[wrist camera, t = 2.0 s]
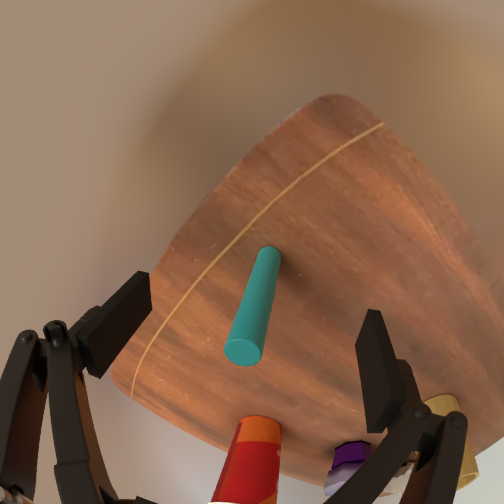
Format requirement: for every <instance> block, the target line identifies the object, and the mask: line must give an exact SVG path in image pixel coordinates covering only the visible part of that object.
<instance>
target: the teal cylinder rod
mask: <svg viewBox="0 0 504 504" xmlns="http://www.w3.org/2000/svg"><path fill="white" fill-rule="evenodd" d="M280 262H281V254H280V252H279V251H278V250H277V249H276V248H274V247H271V246H267V247H264V248H262V249H261V250H260V251H259V254H258V256H257V259H256V262H255V265H254V267H253V270H252V273H251V276H250V278H249V281H248V284H247V287H246V289H245V292H244V295H243V298H242V300H241V303H240V306H239V309H238V311H237V314H236V317H235V319H234V322H233V325H232V328H231V330H230V333H229V336H228V338H227V341H226V344H225V347H224V352H225V355H226V357H227V358H228V359H229V360H230V361H231V362H233V363H234V364H237V365H240V366H252V365H255V364H256V363H258V362H259V361H260V359H261V357H262V353H263V348H264V343H265V338H266V333H267V328H268V324H269V319H270V314H271V309H272V303H273V298H274V293H275V288H276V283H277V278H278V272H279V267H280Z"/></svg>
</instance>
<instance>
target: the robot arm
mask: <svg viewBox="0 0 504 504" xmlns="http://www.w3.org/2000/svg"><path fill="white" fill-rule="evenodd" d="M151 311H152V303H151V292H150V280H149V273H147V272H142V271H137V273H135V274H134V275H133V276H132V277H131V278H130V279H129V280H128V281H127V282H126V283H125V284H124V285H123V286H122V287H121V288H120V289H119V290H118V291H117V292H116V293H115V294H114V295H113V296H111V297H110V298H109V299H108V300H107V301H106V303H104V305H102V306H101V307H100V306H95V307H93V308H91V309H90V310H88V311H87V312H86V313H85V314H84V316H82V317H81V318H80V320H78V321H77V322H76V323H75V324H74V325H73V326H72V327H71V328H70V329H69V330H67V327H66V324H65V323H64V322H63V321H60V320H54V321H50V322H49V323H47V324H46V325H45V326H44V328H43V332H44V335H45V338H46V339H41V338H38V335H37V333H36V332H35V331H34V330H25V331H23V332H21V333H20V334H19V335H18V337H17V339H16V341H15V344H14V346H13V348H12V350H11V353H10V355H9V358H8V361H7V363H6V366H5V369H4V371H3V374H2V376H1V379H0V504H34V503H33V498H34V494H35V486H36V472H37V460H38V459H37V458H38V450H39V441H40V434H41V426H42V421H43V415H44V409H45V403H46V399H47V394H48V392H49V406H50V416H51V425H52V433H53V439H54V446H55V451H56V458H57V464H56V465H55V466H54V474H55V478H56V483H57V487H58V491H59V495H60V499H61V503H62V504H157V503H154V502H152V501H149V500H146V499H143V498H141V497H138V496H137V497H136V499H135V500H132V499H120V500H119V498H118V496H117V494H116V492H115V490H114V489H113V487H112V485H111V482H110V480H109V477H108V474H107V471H106V468H105V464H104V461H103V458H102V455H101V452H100V448H99V444H98V440H97V437H96V433H95V429H94V425H93V420H92V416H91V412H90V408H89V402H88V397H87V391H86V386H85V380H84V375H83V373H82V371H83V369H84V368H85V367H86V368H87V371H88V373H89V374H90V375H92V376H94V377H97V378H99V379H101V377H102V376H103V375H104V373H105V372H106V370H107V369H108V368H109V366H110V365H111V364H112V362H113V361H114V360H115V358H116V357H117V356H118V354H119V353H120V351H121V350H122V349H123V347H124V346H125V345H126V343H127V342H128V341H129V339H130V338H131V337H132V335H133V334H134V333H135V332H136V330H137V329H138V328H139V326H140V325H141V324H142V322H143V321H144V320H145V318H146V317H147V316H148V315H149V313H150V312H151ZM355 349H356V354H357V360H358V366H359V373H360V379H361V386H362V393H363V401H364V408H365V416H366V425H367V433H382V432H383V431H384V430H385V428H386V427H387V429H388V434H387V435H386V437H385V438H384V439H383V440H382V441H381V443H380V444H379V445H378V446H377V448H376V449H375V450H374V451H373V452H372V454H371V455H370V456H369V457H368V458H367V459H366V460H365V462H364V463H363V464H362V465H361V466H360V467H359V468H358V469H357V470H356V472H355V473H354V474H353V475H352V476H351V477H350V478H349V479H348V480H347V481H346V482H345V483H344V484H343V485H342V486H341V487H340V488H339V489H338V490H337V491H336V492H335V493H334V494H333V495H332V496H331V497H330V498H329V499H327V500H326V502H324V503H323V504H372V503H373V502H374V501H375V499H376V498H377V497H378V496H379V495H380V493H381V492H382V491H383V490H384V488H385V487H386V486H387V485H388V483H389V482H390V481H391V479H392V478H393V477H394V475H395V474H396V473H397V471H398V470H399V469H400V467H401V466H402V464H403V463H404V462H405V460H406V459H407V457H408V456H409V454H410V453H411V451H416V452H418V454H417V457H416V460H415V463H414V466H413V469H412V472H411V474H410V477H409V480H408V483H407V485H406V488H405V490H404V493H403V495H402V498H401V500H400V503H399V504H453V500H454V496H455V493H456V489H457V485H458V480H459V476H460V471H461V466H462V461H463V455H464V449H465V443H466V436H467V427H468V421H467V418H466V416H465V415H464V414H463V413H461V412H459V411H451V412H449V413H448V414H447V415H446V416H441V415H437V414H434V413H432V411H431V409H430V407H429V406H428V405H426V404H425V403H423V402H422V401H421V398H420V394H419V391H418V388H417V385H416V382H415V378H414V376H413V372H412V369H411V366H410V365H409V364H408V363H407V362H406V360H400V359H396V357H395V354H394V350H393V347H392V344H391V341H390V338H389V335H388V332H387V329H386V326H385V323H384V320H383V317H382V315H381V312H380V311H379V310H371V309H368V311H367V314H366V317H365V320H364V322H363V325H362V328H361V330H360V333H359V336H358V338H357V341H356V344H355Z"/></svg>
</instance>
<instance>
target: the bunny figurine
mask: <svg viewBox="0 0 504 504" xmlns="http://www.w3.org/2000/svg"><path fill="white" fill-rule="evenodd" d="M414 463H415V462H414ZM414 463H413V462H408V463H407V465H406V466H403V467H400V469H399V470H398V471H397V473H396V474H395V475H394V477H393V478H392V479H391V481H390V482H389V483H388V485H387V486H386V487H385V488H384V493H393V494H398V493H401V494H403V493H404V490H405V488H406V485H407V483H408V480H409V477H410V474H411V472H412V469H413V466H414Z"/></svg>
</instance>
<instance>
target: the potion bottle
mask: <svg viewBox="0 0 504 504" xmlns="http://www.w3.org/2000/svg"><path fill="white" fill-rule="evenodd" d="M371 454H372V449H371V443H368V442H365V441H362V440H360V441H353V442H346V443H344V444H342V445H340V446H338V447H337V448H335V456H334V460H333V464H332V467H331V468H332V470H330V471H329V472H328V476H327V479H326V482H325V485H324V493H325V495H327V496H332V495H333V494H334V493H335V492H336V491H337V490H338V489H339V488H340V487H341V486H342V485H343V484H344V483H345V482H346V481H347V480H348V479H349V478H350V477H351V476H352V475H353V474H354V473H355V472H356V470H357V469H358V468H359V467H360V466H361V465H362V464H363V463H364V462H365V460H366V459H367V458H368V457H369V456H370V455H371Z"/></svg>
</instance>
